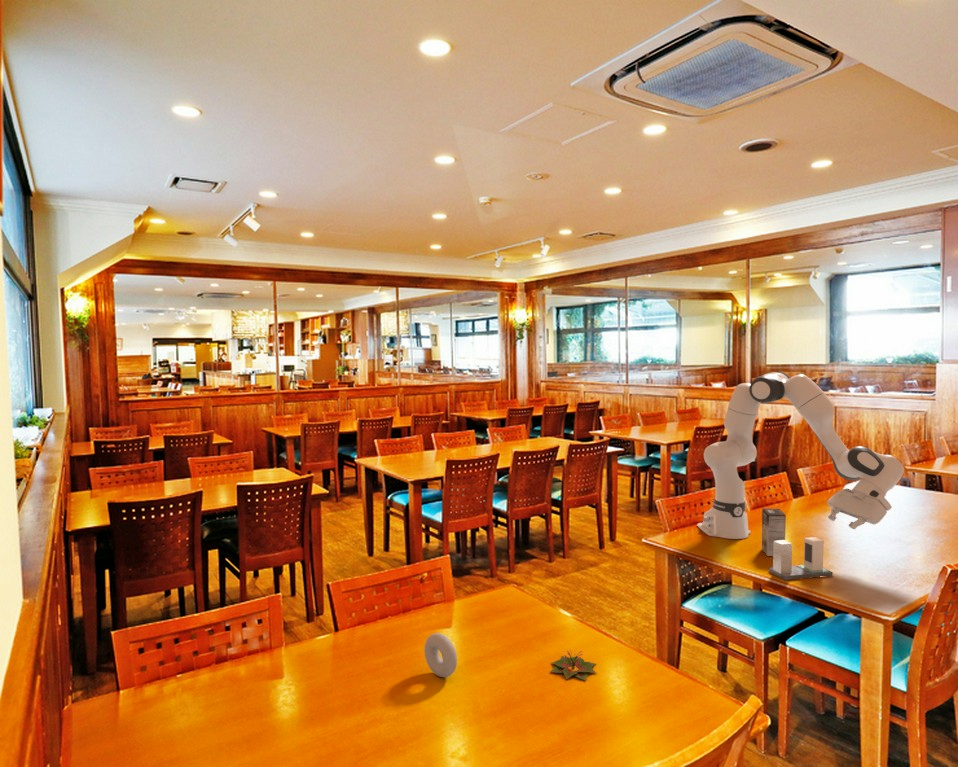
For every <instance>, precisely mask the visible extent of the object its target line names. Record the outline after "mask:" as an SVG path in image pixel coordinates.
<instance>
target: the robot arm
mask: <svg viewBox="0 0 958 767" xmlns="http://www.w3.org/2000/svg"><path fill="white" fill-rule="evenodd" d="M782 399H785V400H787V401H788V402H790V403H791V404H792V405H793V407H794V408H795V410H797V412H798V413H799V414H800V415H801V417H802V418H803V419H804V421H805V422H806V423H807V424H808V426H809V428H811V430H812V431H813V434H814V435H815V436H816V438H817V440H818V441H819V443H821V445H822V446H823V448H824V449H825V451H826V452H827V453H828V455H829V457H830V459H831V460H832V464H833V468H834V471H835V472H836V474H837V476H839V477H840V478H842V479H843V480H844V479H845V480H847V481H856V480H859V479H860V480H859V481H858V482H857V483H856V484H855V485H854V486H853V487H852V489H850V488H844V489H840V490H838V491H836V492H835V494H833V495H832V496H831V497H829V499H828V500H827V505H828V506H829V507H830V509H831V510H830V514H829V515H828V517H827V518H828V519H829V520H830V521H832V522H835V520H836V519H837V517H836V516H837V514H840V513H842V514H844V515H847V516H850V517H852V518H855V519H856V520H854V521H850V523H849V524H848V527H849V528H850V529H852V530H856V529H857V528H858V527H860V526H862V525H864V524H866V523H868V524H871V525H877V524H879V523H880V522H881V521H882V520H883V519H884V517H885V516H886V515H887V513H888V511H890V510H891V509H892V505H891V503H890V502H889V501H888V500H887V499H886V498H885V497H886V496H887V493H888V492H889V491H890V490H892V489H893V488H894V487H895V486H896V485H897V484H898V482H899V481H900V480H901V478H902V477H903V475H904V473H905V468H904V465H903V464H902V462H901V461H900V460H899V459H898V458H896V457H895V456H893V455H891V454H882V453H878V452H875V451H874V450H872V449H870V448H868V447H865V446H862V445H861V446H860V445H859V446H854V447H853V448H851V449H848V448H847V446H846V445H845V444H844V442H843V440H842V439H841V437H840V436H839V435H838V434H837V432H836V430H835V427H834V416H835V406H834V405H833V402H832V401H831V399H830V398H829V397H828V395H827V394H826V393H825V392H824V391H823V389H821V387H820V386H819V385H818V384H817V383H816V382H814V381H813V380H812V379H811V378H810V377H808V376H807V375H805V374H801V373H800V374H796V375H793V376H791V377H790V376H789V375H788V374H787V373H784V372H782V371H774V372H767V373H765V374H763V375H762V374H761V375H759V376H757V377H755V378H754V379H753V380H752V381H751V383H749V382H743V383H739V384H737V386H736V387H735V388H734V390H733V392H732V395H731V397H730V400H729V402H728V407H727V409H726V413H725V418H724V420H723V426H724V428H725V429H726V430H727V438H726V440H725V441H717V442H714V443H712V444H710V445H708V446H707V447H705V449H704V451H703V459H704V463H705V464H706V465H707V466H708V467H709V468H710V469H711V471H712V474H713V478H714V483H715V485H714V486H715V488H714V489H715V498H712V507H711V508H710V509H709V510H707V511H705V512H704V514H703V517H702V522H699V523H697V525H696V527H697V526H698V528H699V529H700V530H701V531H702V532H703V533H704V534H706V535H707V536H709V537H716V538H723V539H730V540H740V539H746V538H748V537H749V535H750V534H751V530H749V522H748V514H747V512H746V506H747V505H746V501H745V482H744V481H743V479H742V478H740V476H739V472H738V468H739V467H743V466H747V465H749V464H750V463H752V462H754V461H755V460H756V458H757V455H758V452H757V448H756V445H755V444H754V442H753V432H754V430H753V429H754V427H755V423H756V420H757V415H758V411H759V407H760V405H761V404H769V403H773V402H774V403H775V402H778V401H779V400H782Z"/></svg>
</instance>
